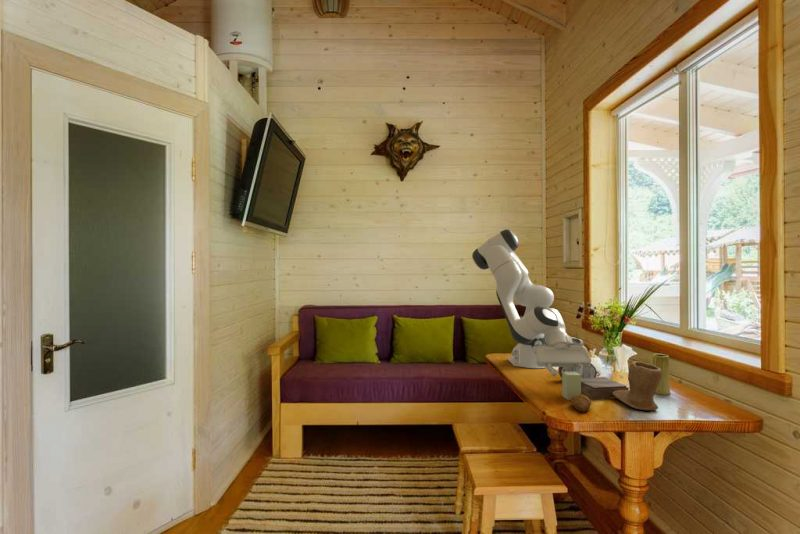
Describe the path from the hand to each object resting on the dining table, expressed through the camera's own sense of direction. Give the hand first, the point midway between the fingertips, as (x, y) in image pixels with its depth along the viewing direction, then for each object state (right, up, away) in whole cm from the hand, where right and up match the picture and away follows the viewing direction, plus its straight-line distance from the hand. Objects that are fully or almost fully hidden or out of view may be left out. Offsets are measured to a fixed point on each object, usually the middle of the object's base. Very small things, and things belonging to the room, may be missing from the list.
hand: (567, 375), depth 160 cm
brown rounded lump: (0, -8, -13) cm, 15 cm away
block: (+1, -7, -2) cm, 8 cm away
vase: (+37, -8, +4) cm, 38 cm away
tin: (+12, -8, +20) cm, 25 cm away
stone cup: (+20, -8, -11) cm, 25 cm away
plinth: (+14, -7, +4) cm, 16 cm away
